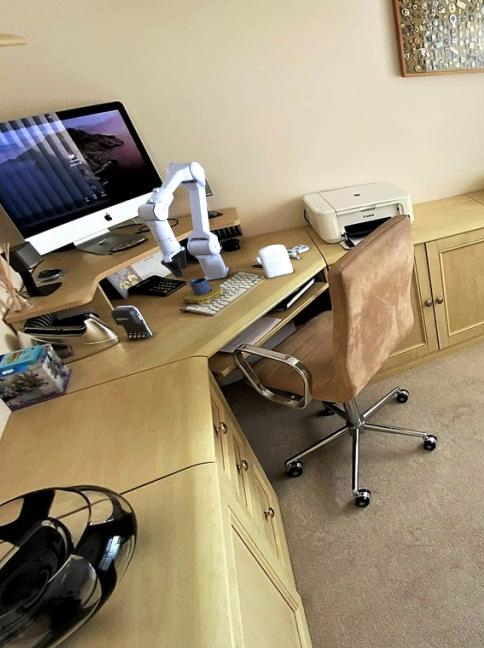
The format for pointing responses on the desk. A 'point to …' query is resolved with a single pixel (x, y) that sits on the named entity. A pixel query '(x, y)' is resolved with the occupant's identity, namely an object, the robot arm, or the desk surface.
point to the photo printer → (275, 260)
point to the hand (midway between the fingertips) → (182, 272)
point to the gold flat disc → (204, 295)
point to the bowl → (200, 286)
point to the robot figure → (291, 252)
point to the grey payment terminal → (132, 322)
